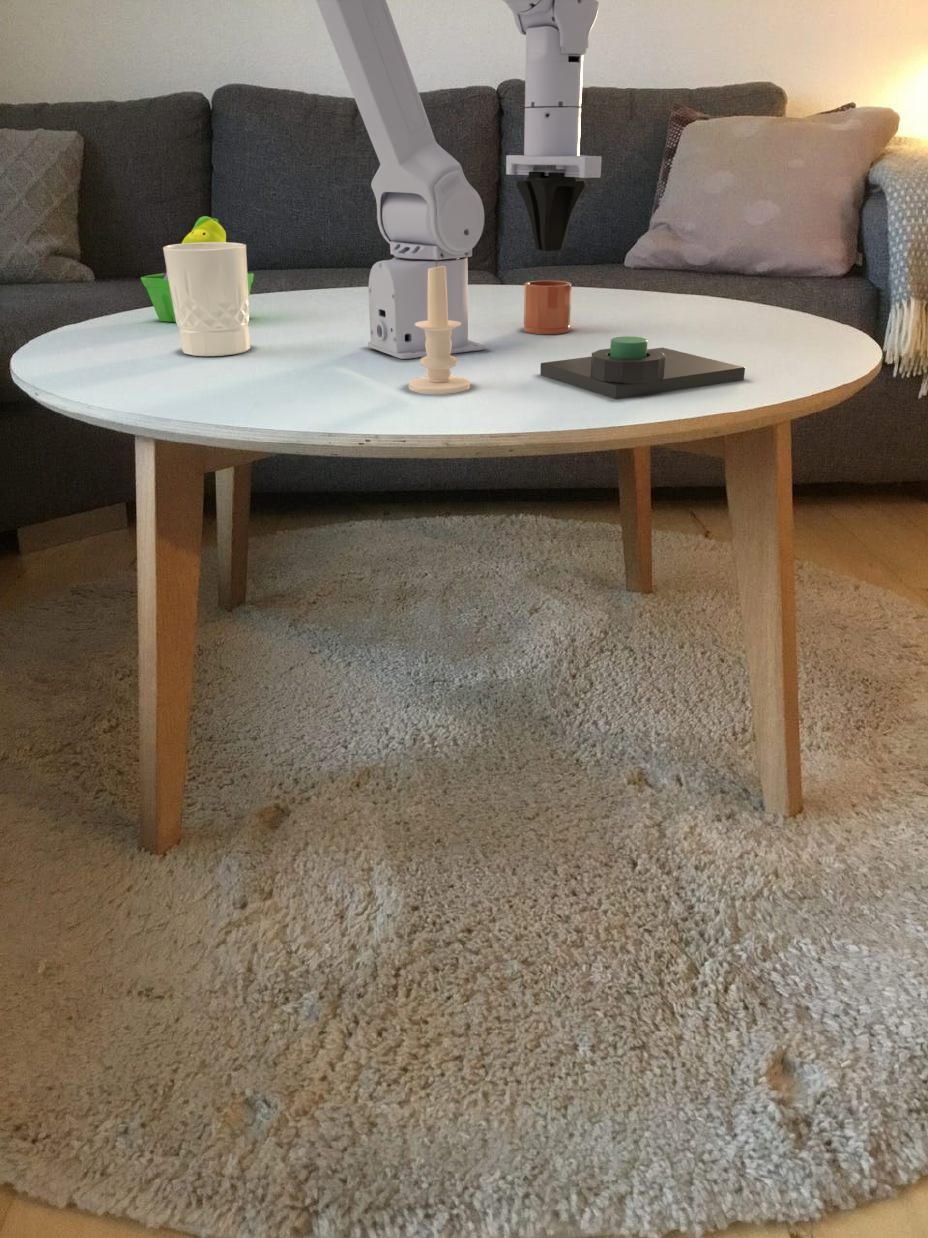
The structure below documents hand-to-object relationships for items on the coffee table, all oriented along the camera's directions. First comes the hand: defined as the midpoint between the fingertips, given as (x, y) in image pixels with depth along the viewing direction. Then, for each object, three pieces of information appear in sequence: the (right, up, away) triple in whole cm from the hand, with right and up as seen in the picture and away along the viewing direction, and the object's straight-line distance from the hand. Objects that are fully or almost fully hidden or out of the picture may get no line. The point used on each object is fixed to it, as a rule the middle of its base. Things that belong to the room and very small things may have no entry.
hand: (548, 250), depth 108 cm
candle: (-11, -20, -22) cm, 32 cm away
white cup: (-34, -12, -6) cm, 37 cm away
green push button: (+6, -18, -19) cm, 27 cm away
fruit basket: (-40, -4, +12) cm, 42 cm away
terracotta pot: (0, -8, +4) cm, 8 cm away
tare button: (+5, -18, -24) cm, 31 cm away
